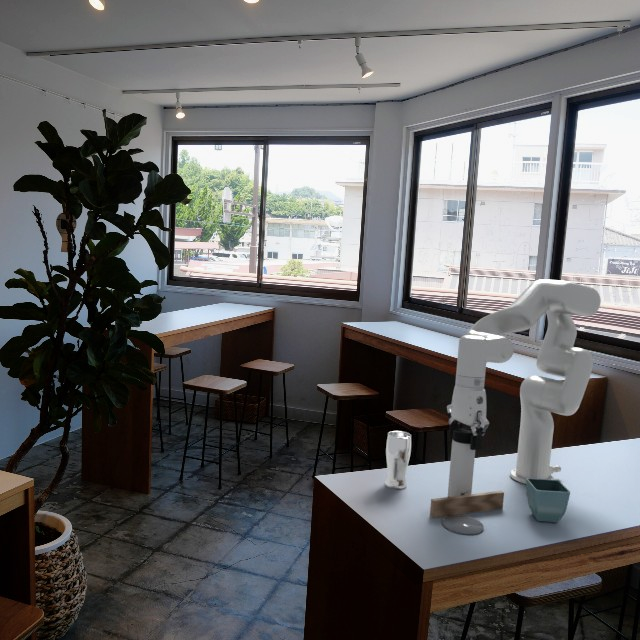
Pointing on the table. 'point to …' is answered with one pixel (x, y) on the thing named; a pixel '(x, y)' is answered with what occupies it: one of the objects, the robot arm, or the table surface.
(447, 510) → the rail
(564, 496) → the flower pot
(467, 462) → the travel mug
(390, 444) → the beer glass
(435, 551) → the table surface
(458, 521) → the grey flat disc
